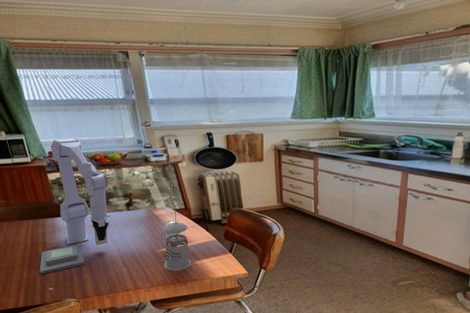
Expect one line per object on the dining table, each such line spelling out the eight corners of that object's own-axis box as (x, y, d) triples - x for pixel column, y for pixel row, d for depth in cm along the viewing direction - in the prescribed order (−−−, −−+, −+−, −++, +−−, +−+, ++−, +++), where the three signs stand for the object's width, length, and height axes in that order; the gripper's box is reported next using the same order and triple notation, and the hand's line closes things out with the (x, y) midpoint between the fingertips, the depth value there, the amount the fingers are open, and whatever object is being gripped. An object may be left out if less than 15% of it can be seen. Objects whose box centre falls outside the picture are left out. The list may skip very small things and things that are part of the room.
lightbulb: (178, 250, 125) (177, 224, 124) (163, 249, 126) (162, 223, 125) (184, 244, 131) (183, 218, 130) (170, 243, 133) (168, 218, 131)
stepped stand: (42, 254, 124) (41, 247, 124) (81, 246, 131) (80, 240, 131) (40, 274, 109) (39, 266, 108) (84, 264, 116) (84, 257, 115)
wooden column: (95, 241, 127) (94, 227, 126) (106, 239, 129) (104, 225, 128) (96, 245, 124) (95, 230, 123) (107, 242, 126) (106, 228, 125)
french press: (178, 273, 108) (175, 202, 104) (154, 265, 114) (150, 197, 110) (197, 261, 116) (194, 195, 112) (173, 254, 122) (170, 191, 118)
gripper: (111, 208, 120) (114, 242, 122) (106, 199, 132) (109, 230, 134) (91, 211, 116) (94, 246, 118) (88, 202, 129) (91, 233, 131)
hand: (101, 238), depth 126 cm, fingers closed on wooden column, 4 cm apart
